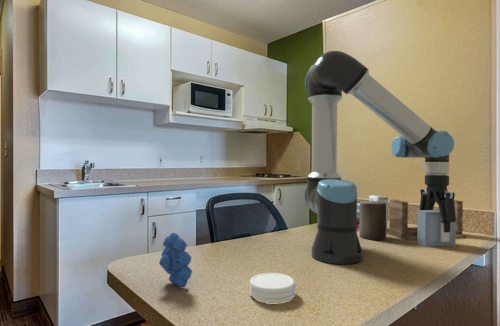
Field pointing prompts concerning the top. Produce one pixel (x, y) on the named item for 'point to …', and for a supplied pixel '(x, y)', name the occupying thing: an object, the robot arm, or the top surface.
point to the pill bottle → (358, 217)
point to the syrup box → (381, 199)
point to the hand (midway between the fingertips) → (436, 238)
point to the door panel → (433, 229)
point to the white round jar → (272, 287)
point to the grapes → (176, 260)
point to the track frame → (401, 229)
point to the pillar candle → (373, 220)
